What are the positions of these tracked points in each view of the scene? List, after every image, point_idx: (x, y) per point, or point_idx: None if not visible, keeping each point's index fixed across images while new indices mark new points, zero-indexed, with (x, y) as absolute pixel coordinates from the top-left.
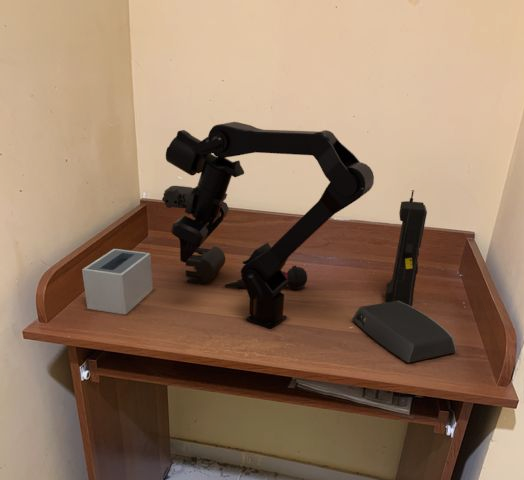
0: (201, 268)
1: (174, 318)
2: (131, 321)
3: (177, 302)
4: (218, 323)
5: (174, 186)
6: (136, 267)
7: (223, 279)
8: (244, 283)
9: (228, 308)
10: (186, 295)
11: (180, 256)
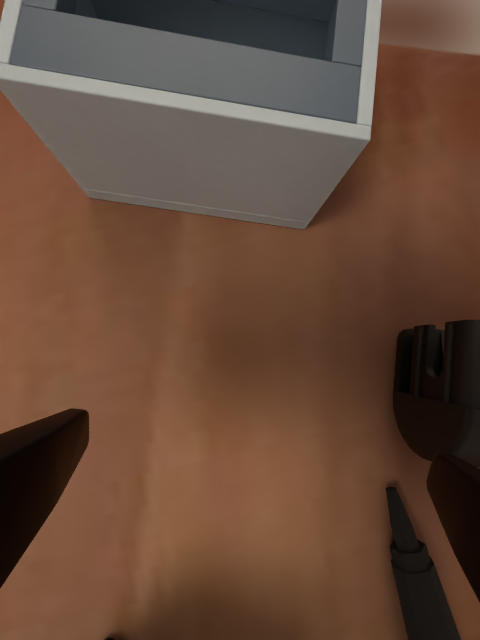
0: (431, 402)
1: (87, 364)
2: (42, 229)
3: (219, 340)
4: (70, 532)
5: None
6: (178, 122)
7: None
8: (402, 586)
9: (204, 540)
10: (285, 357)
11: (28, 425)
